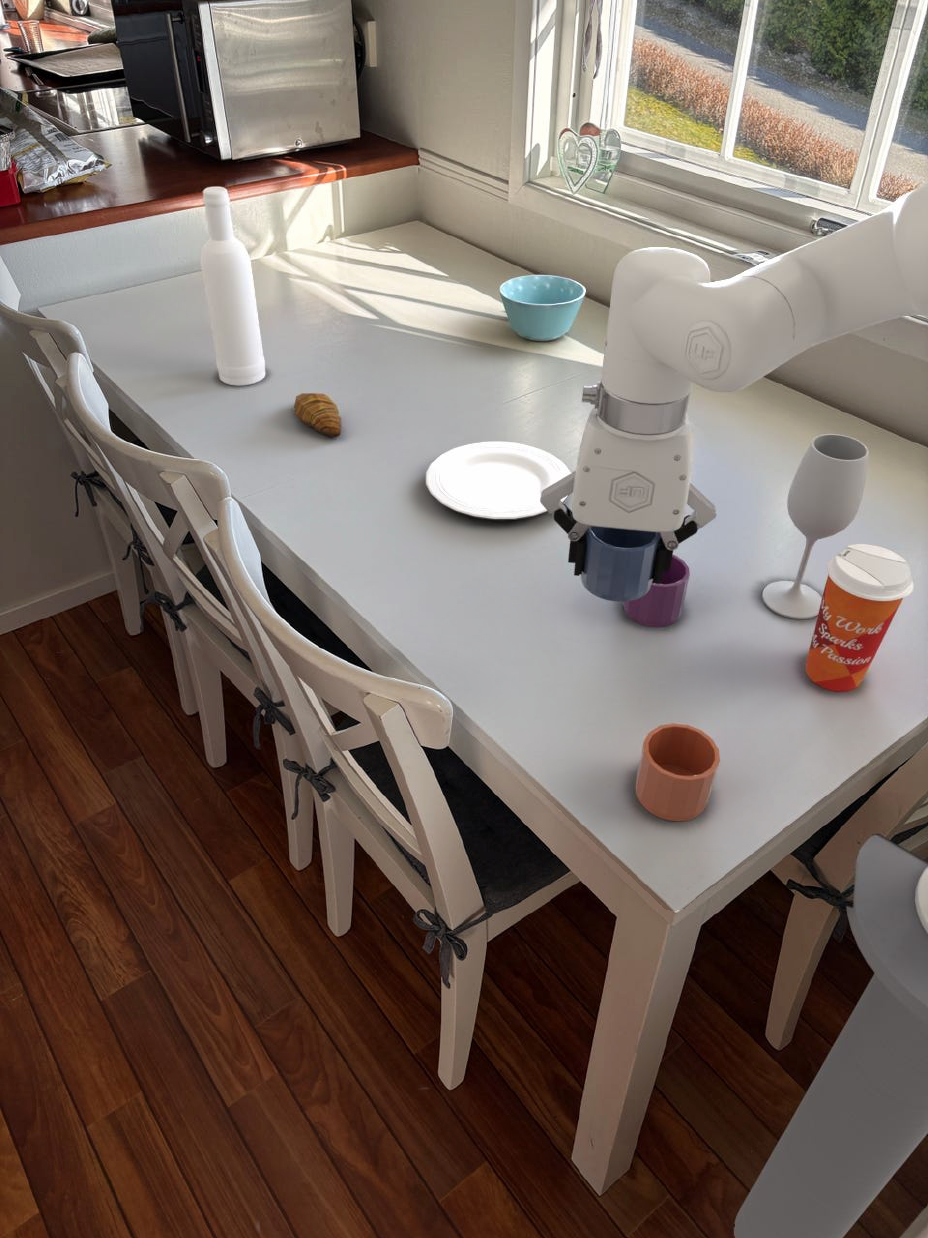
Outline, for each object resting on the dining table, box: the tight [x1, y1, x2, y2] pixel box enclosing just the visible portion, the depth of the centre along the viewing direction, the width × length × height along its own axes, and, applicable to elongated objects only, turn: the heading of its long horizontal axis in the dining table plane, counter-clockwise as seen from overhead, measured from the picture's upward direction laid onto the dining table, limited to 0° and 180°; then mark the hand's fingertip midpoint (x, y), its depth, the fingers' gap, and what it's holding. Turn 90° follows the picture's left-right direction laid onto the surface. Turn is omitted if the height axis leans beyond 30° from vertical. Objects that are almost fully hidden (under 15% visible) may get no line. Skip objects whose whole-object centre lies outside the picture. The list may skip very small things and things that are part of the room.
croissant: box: [293, 392, 342, 438], centre depth 144 cm, size 14×7×5 cm, turn 32°
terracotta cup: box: [634, 722, 721, 822], centre depth 87 cm, size 7×7×6 cm
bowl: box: [498, 274, 587, 342], centre depth 171 cm, size 16×16×8 cm
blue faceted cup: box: [580, 526, 661, 603], centre depth 89 cm, size 7×7×6 cm
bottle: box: [199, 186, 266, 387], centre depth 148 cm, size 8×8×30 cm
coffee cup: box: [805, 543, 915, 693], centre depth 97 cm, size 8×8×15 cm
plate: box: [425, 441, 572, 521], centre depth 130 cm, size 21×21×2 cm
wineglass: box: [761, 433, 870, 620], centre depth 105 cm, size 8×8×21 cm
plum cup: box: [622, 554, 691, 628], centre depth 109 cm, size 7×7×6 cm
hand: (617, 570), depth 90 cm, fingers closed on blue faceted cup, 7 cm apart
